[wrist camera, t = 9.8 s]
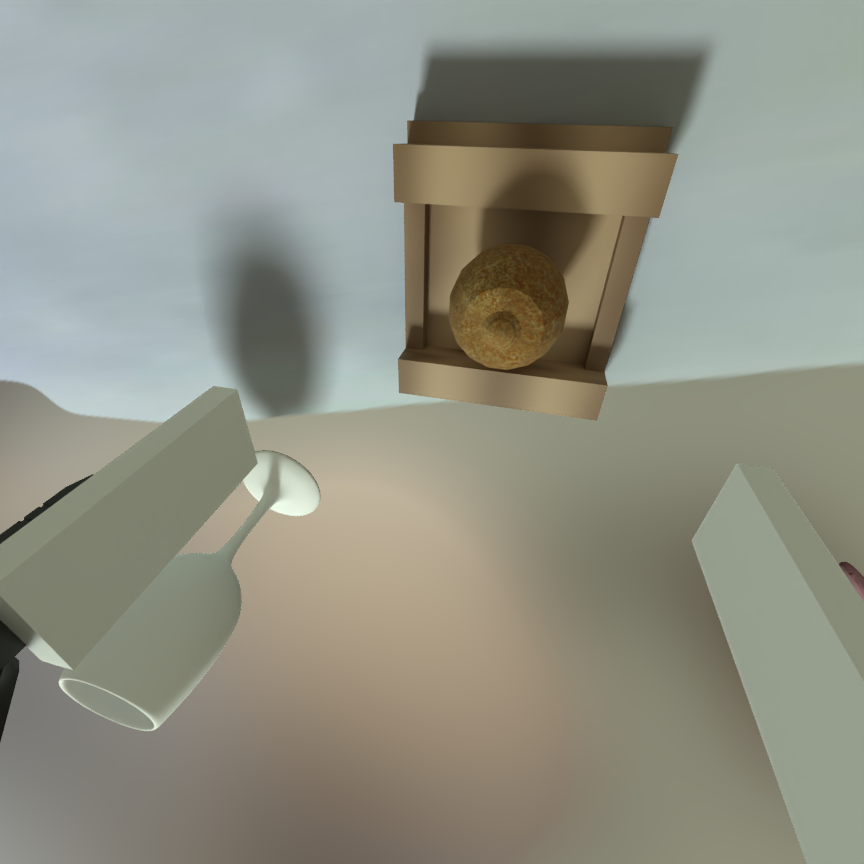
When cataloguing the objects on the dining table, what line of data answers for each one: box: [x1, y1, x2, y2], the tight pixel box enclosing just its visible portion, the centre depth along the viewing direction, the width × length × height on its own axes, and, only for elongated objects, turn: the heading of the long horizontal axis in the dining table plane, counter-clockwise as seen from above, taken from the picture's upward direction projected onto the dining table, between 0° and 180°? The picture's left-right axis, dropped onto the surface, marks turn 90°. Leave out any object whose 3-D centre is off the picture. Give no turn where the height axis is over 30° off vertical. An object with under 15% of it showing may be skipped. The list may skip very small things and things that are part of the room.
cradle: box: [393, 121, 678, 420], centre depth 25 cm, size 13×16×4 cm
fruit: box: [449, 243, 569, 370], centre depth 22 cm, size 6×6×8 cm
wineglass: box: [59, 450, 320, 731], centre depth 34 cm, size 9×9×21 cm
